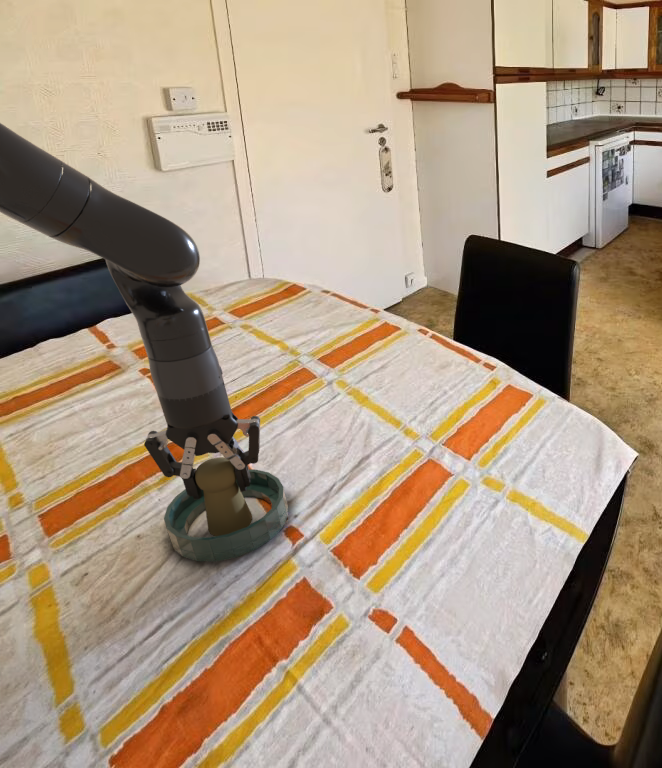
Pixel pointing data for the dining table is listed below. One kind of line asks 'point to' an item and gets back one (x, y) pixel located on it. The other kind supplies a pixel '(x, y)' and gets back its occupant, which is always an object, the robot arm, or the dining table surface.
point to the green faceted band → (236, 542)
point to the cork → (222, 497)
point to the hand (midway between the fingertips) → (221, 491)
